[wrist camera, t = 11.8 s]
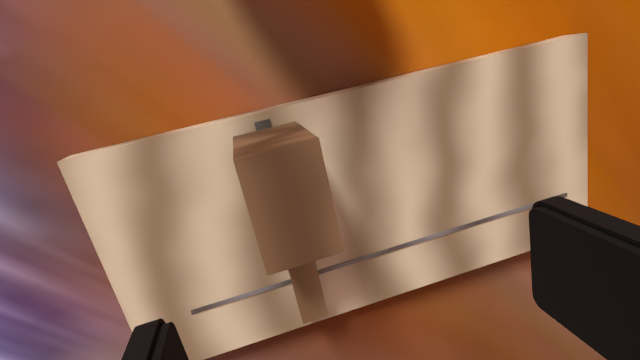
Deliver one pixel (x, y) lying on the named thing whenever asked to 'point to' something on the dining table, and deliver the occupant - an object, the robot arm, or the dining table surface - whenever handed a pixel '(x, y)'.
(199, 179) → the board
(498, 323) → the dining table surface
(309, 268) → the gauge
